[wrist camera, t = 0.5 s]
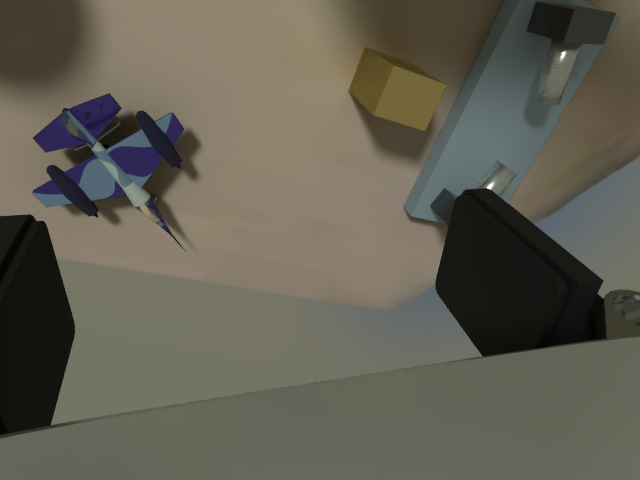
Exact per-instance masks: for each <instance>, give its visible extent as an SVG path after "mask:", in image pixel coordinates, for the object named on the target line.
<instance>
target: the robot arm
mask: <svg viewBox="0 0 640 480" xmlns="http://www.w3.org/2000/svg"><path fill="white" fill-rule="evenodd" d="M602 283H603V280H602V279H601V278H599V277H598V276H597V275H596V274H595V273H593V272H592V271H591V270H589V268H587V267H586V266H585V265H584V264H582V263H581V262H580V261H578V260H577V259H576V258H575V257H574V256H572V255H571V254H570V253H569V252H567V251H566V250H565V249H564V248H562V247H561V246H560V245H559V244H558V243H556V242H555V241H554V240H552V239H551V238H550V237H549V236H547V235H546V234H545V233H544V232H543V231H541V230H540V229H539V228H538V227H536V226H535V225H534V224H533V223H532V222H530V221H529V220H528V219H527V218H525V217H524V216H523V215H522V214H520V213H519V212H518V211H517V210H515V209H514V208H513V207H512V206H511V205H509V204H508V203H507V202H506V201H504V200H503V199H502V198H501V197H499V196H498V195H497V194H496V193H494V192H493V191H492V190H491V189H489V188H479V189H466V190H464V191H463V192H462V194H461V195H459V196H457V198H456V200H455V203H454V207H453V211H452V215H451V219H450V224H449V228H448V232H447V236H446V240H445V244H444V249H443V253H442V257H441V261H440V265H439V269H438V274H437V278H436V291H437V293H438V295H439V297H440V298H441V299H442V301H443V302H444V303H445V305H446V306H447V308H448V309H449V310H450V312H451V313H452V315H453V316H454V317H455V319H456V320H457V321H458V323H459V324H460V326H461V327H462V328H463V330H464V331H465V332H466V334H467V335H468V337H469V338H470V340H471V341H472V342H473V344H474V345H475V346H476V348H477V349H478V350H479V352H480V353H481V355H482V356H483V357H476V358H470V359H463V360H457V361H450V362H443V363H437V364H430V365H424V366H417V367H412V368H404V369H398V370H391V371H385V372H378V373H372V374H365V375H359V376H353V377H346V378H340V379H333V380H327V381H320V382H314V383H308V384H301V385H295V386H288V387H282V388H276V389H269V390H264V391H257V392H250V393H245V394H238V395H232V396H226V397H219V398H213V399H207V400H200V401H194V402H188V403H182V404H175V405H169V406H163V407H157V408H151V409H144V410H138V411H132V412H125V413H119V414H113V415H107V416H101V417H94V418H88V419H82V420H77V421H71V422H66V423H61V424H56V425H51V422H52V418H53V414H54V411H55V407H56V403H57V400H58V395H59V392H60V388H61V385H62V381H63V377H64V373H65V370H66V365H67V362H68V358H69V355H70V351H71V347H72V343H73V340H74V335H75V325H74V320H73V316H72V312H71V309H70V305H69V302H68V298H67V295H66V291H65V288H64V284H63V281H62V277H61V274H60V270H59V267H58V263H57V260H56V256H55V253H54V249H53V246H52V242H51V239H50V235H49V232H48V228H47V225H46V224H45V222H44V221H36V220H35V218H34V217H33V216H32V215H14V216H0V480H640V292H637V291H632V290H614V291H610V292H609V293H607V294H606V295H605V298H604V299H603V298H602V297H601V296H599V295H598V294H597V293H598V291H599V289H600V287H601V285H602Z"/></svg>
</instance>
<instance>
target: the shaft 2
mask: <svg viewBox="0 0 640 480" xmlns="http://www.w3.org/2000/svg"><path fill="white" fill-rule="evenodd" d="M615 15H616V13H613V12H608V11H603V10H598V9H593V8H588V7H582V6H577V5H570V4H559V3H547V2H535V5H534V9H533V12H532V15H531V18H530V22H529V25H528V28H527V32H531V33H534V34H537V35H541V36H544V37H547V38H551V39H552V40H551V43H550V46H549V49H548V52H547V55H546V58H545V61H544V64H543V67H542V70H541V73H540V76H539V79H538V82H537V85H536V88H535V91H534V94H533V97H532V99H533V100H534V101H537V102H540V103H543V104H549V105H559V104H560V101H561V99H562V96H563V93H564V91H565V88H566V85H567V82H568V80H569V77H570V74H571V72H572V69H573V66H574V63H575V61H576V58H577V55H578V53H579V50H580V47H581V44H597V45H604V43H605V40H606V38H607V35H608V33H609V30H610V27H611V25H612V22H613V20H614V17H615Z"/></svg>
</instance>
